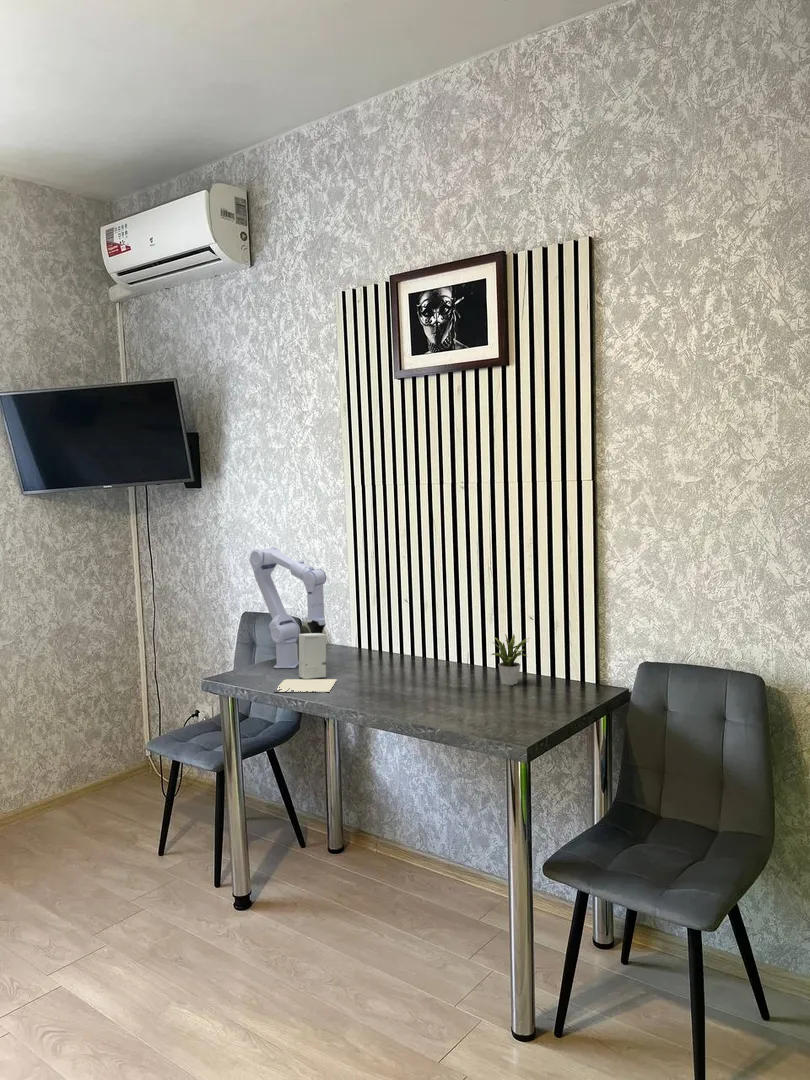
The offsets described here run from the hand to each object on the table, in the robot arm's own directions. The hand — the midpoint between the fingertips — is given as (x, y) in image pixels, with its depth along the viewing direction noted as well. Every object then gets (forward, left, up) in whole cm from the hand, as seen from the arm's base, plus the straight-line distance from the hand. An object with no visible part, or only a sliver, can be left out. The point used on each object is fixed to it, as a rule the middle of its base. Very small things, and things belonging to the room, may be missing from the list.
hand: (317, 642), depth 280 cm
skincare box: (+9, 0, -10) cm, 14 cm away
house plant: (+18, +67, -11) cm, 70 cm away
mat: (+20, 0, -10) cm, 23 cm away
